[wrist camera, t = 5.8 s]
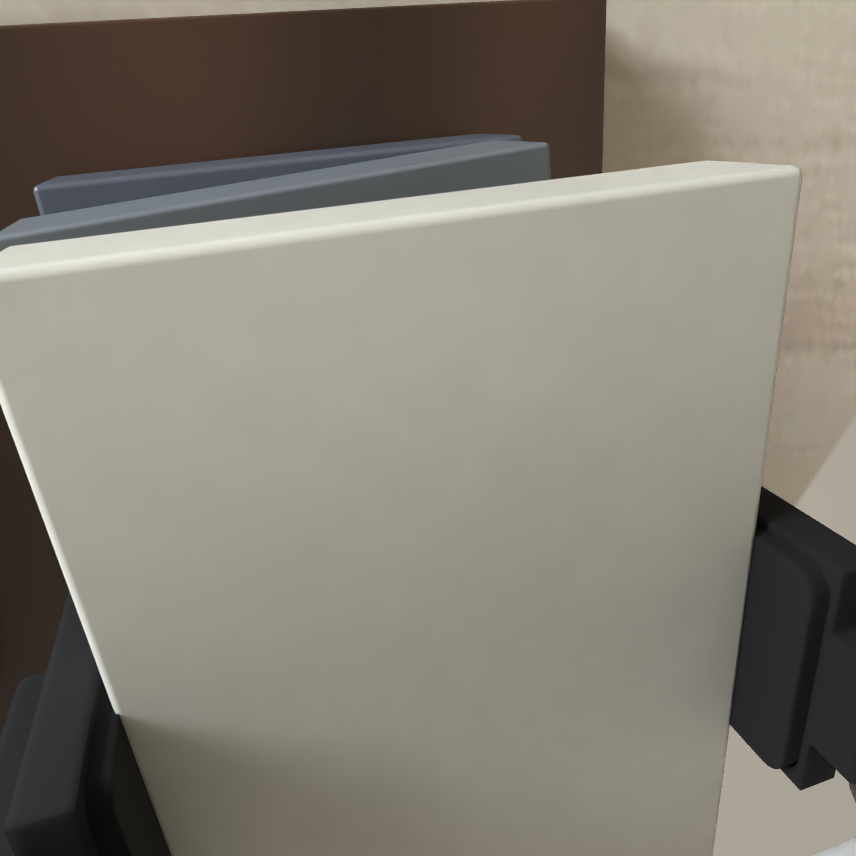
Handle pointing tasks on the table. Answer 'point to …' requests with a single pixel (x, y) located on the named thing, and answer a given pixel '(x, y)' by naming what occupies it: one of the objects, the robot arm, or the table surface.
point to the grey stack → (273, 185)
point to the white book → (416, 505)
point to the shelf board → (263, 144)
